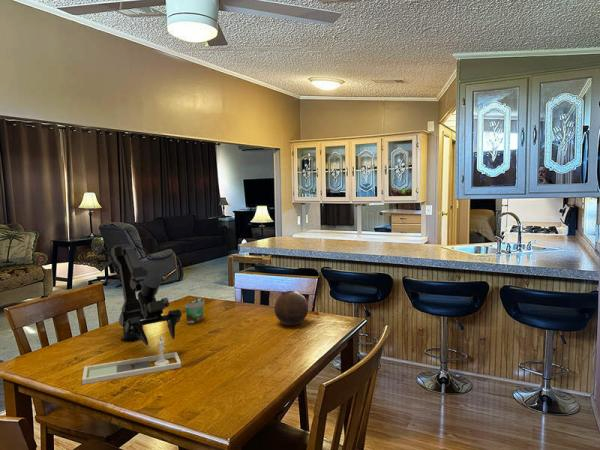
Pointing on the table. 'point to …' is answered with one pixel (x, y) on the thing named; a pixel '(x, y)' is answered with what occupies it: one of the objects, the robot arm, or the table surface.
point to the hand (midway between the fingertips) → (160, 341)
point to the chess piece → (161, 354)
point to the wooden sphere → (291, 308)
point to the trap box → (130, 368)
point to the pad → (102, 371)
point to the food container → (194, 311)
